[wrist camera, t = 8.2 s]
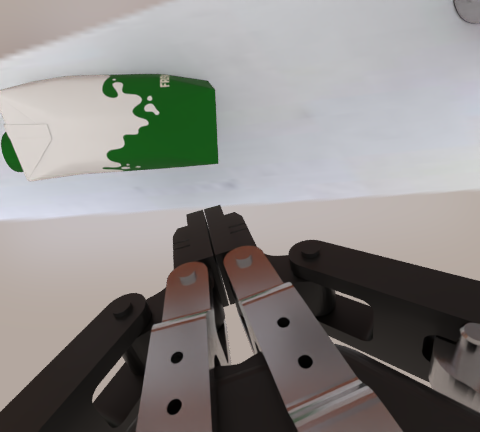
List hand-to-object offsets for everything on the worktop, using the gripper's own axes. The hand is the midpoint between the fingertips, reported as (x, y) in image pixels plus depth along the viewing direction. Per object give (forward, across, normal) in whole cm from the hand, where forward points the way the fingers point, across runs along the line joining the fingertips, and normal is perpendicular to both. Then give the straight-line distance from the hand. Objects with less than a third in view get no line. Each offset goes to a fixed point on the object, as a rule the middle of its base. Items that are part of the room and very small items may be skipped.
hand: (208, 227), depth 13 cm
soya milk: (+21, -3, 0) cm, 21 cm away
